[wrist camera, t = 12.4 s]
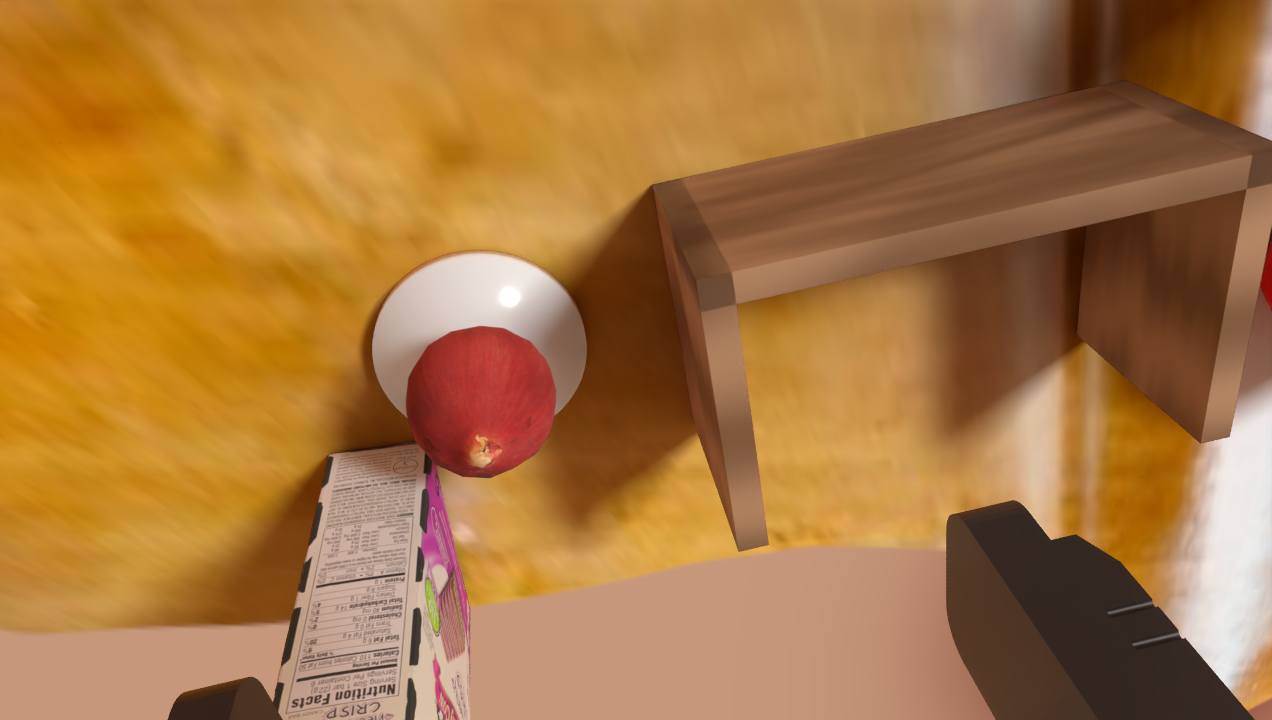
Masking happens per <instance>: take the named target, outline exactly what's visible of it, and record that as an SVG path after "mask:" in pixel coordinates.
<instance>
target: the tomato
mask: <svg viewBox="0 0 1272 720" xmlns="http://www.w3.org/2000/svg"><path fill="white" fill-rule="evenodd" d="M1260 287H1261V289H1262V291H1263V294H1264V296H1265V298H1266V300H1267V302H1268V304H1269V306H1270V308H1271V310H1272V240H1271V243H1270V246H1269V250H1268V253H1267V256H1266V260H1265V263H1264V267H1263V272H1262V277H1261V282H1260Z"/></svg>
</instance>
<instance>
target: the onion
mask: <svg viewBox="0 0 1272 720" xmlns="http://www.w3.org/2000/svg"><path fill="white" fill-rule="evenodd" d="M555 406H556V388H555V384H554V380H553V377H552V373H551V370H550V367H549V365H548V363H547V361H546V359H545V358H544V356H543V355H542V354H541V353H540V352H539V351H538V349H537V348H536V347H535V346H534V345H533V344H532V342H531V341H529V340H527V339H525V338H523V337H521V336H518V335H516V334H514V333H512V332H511V331H509V330H507V329H505V328H499V327H489V326H477V327H471V328H466V329H461V330H456V331H451V332H449V333H448V334H446V335H444V336H443V337H441V338H439V339H438V340H436V341H434V342H433V343H431V344H429V345H428V346H427V348H426V349H425V351H424V352H423V354H422V355H421V357H420V358H419V360H418V361H417V363H416V364H415V366H414V368H413V370H412V371H411V373H410V375H409V377H408V384H407V394H406V414H407V417H408V421H409V424H410V427H411V431H412V434H413V437H414V439H415V440H416V442H417V444H418V445H419V446H420V447H421V448H422V449H423V451H424V452H425V453H426V454H427V455H428V456H429V457H430V458H431V460H432V461H433V462H434V463H435V464H437V465H438V466H440V467H442V468H444V469H447V470H449V471H451V472H453V473H456V474H458V475H460V476H462V477H479V478H491V477H494V476H496V475H499V474H501V473H503V472H506V471H508V470H511V469H513V468H515V467H517V466H518V465H519V464H521V463H522V462H524V461H526V460H527V459H529V458H530V457H532V456H533V455H535V454H536V452H537V451H538V450H539V449H540V447H541V445H542V444H543V442H544V441H545V439H546V438H547V436H548V435H549V433H550V432H551V429H552V426H553V422H554V414H555Z"/></svg>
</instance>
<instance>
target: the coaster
mask: <svg viewBox="0 0 1272 720" xmlns="http://www.w3.org/2000/svg"><path fill="white" fill-rule="evenodd" d="M477 326H489V327H499V328H505V329H507V330H509V331H511V332H512V333H514V334H516V335H518V336H521V337H523V338H525V339H527V340H529V341H531V342H532V344H533V345H534V346H535V347H536V348H537V349H538V351H539V352H540V353H541V354H542V355H543V356H544V358H545V359H546V361H547V363H548V365H549V367H550V370H551V373H552V377H553V380H554V384H555V388H556V406H555V414H554V416H555V415H556V414H557V413H558V412H559V411H561V410H562V409H563V408H564V406H565V405H566V404H567V403H568V402H569V400H570V399H571V398H572V396H573V395H574V393H575V391H576V390H577V388H578V386H579V384H580V381H581V379H582V376H583V373H584V370H585V365H586V358H587V342H586V336H585V330H584V325H583V321H582V318H581V315H580V311H579V309H578V307H577V305H576V303H575V301H574V300H573V298H572V297H571V295H570V294H569V292H568V291H567V289H566V288H565V287H564V286H563V285H562V284H561V283H560V282H559V281H558V280H557V279H556V278H555V277H554V276H553V275H551V274H550V273H549V272H548V271H546V270H545V269H543V268H542V267H540V266H538V265H537V264H535V263H533V262H531V261H529V260H526V259H524V258H521V257H518V256H515V255H512V254H509V253H504V252H499V251H490V250H466V251H460V252H454V253H450V254H446V255H443V256H439V257H437V258H435V259H432V260H430V261H428V262H425V263H424V264H422V265H420V266H419V267H417V268H415V269H414V270H412V271H411V272H410V273H409V274H407V275H406V276H405V277H403V278H402V279H401V280H400V281H399V283H398V284H397V285H396V286H395V287H394V288H393V289H392V291H391V292H390V293H389V295H388V296H387V297H386V299H385V301H384V303H383V305H382V307H381V309H380V312H379V315H378V318H377V321H376V325H375V330H374V336H373V341H372V357H373V364H374V369H375V372H376V376H377V379H378V381H379V383H380V385H381V387H382V389H383V391H384V393H385V394H386V396H387V397H388V399H389V400H390V401H391V402H392V404H393V405H394V406H395V407H396V408H397V409H398V410H399V411H400V412H401V413H402V414H403V415H404V416H405V417H407V414H406V394H407V384H408V377H409V375H410V373H411V371H412V370H413V368H414V366H415V364H416V363H417V361H418V360H419V358H420V357H421V355H422V354H423V352H424V351H425V349H426V348H427V346H428V345H429V344H431V343H433V342H434V341H436V340H438V339H439V338H441V337H443V336H444V335H446V334H448V333H449V332H451V331H456V330H461V329H466V328H471V327H477ZM407 418H408V417H407Z"/></svg>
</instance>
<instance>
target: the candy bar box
mask: <svg viewBox="0 0 1272 720" xmlns="http://www.w3.org/2000/svg"><path fill="white" fill-rule="evenodd" d="M273 704H274V706H275V707H276V709H277V711H278V712H279V714H280V716H281V718H282V719H283V720H470V606H469V602H468V598H467V594H466V590H465V586H464V582H463V578H462V574H461V570H460V566H459V562H458V557H457V553H456V549H455V545H454V541H453V536H452V532H451V528H450V523H449V519H448V515H447V511H446V506H445V502H444V498H443V493H442V489H441V485H440V481H439V477H438V473H437V469H436V465H435V463H434V462H433V461H432V460H431V458H430V457H429V456H428V455H427V454H426V453H425V452H424V451H423V449H422V448H421V447H420V446H419V445H418V444H417V442H407V443H401V444H397V445H392V446H386V447H380V448H372V449H362V450H353V451H346V452H340V453H332V454H329V455H328V460H327V464H326V469H325V474H324V478H323V482H322V486H321V490H320V494H319V499H318V503H317V507H316V513H315V516H314V520H313V525H312V530H311V534H310V539H309V544H308V548H307V553H306V556H305V561H304V565H303V570H302V574H301V580H300V583H299V587H298V591H297V596H296V600H295V605H294V609H293V614H292V618H291V622H290V626H289V631H288V635H287V639H286V643H285V648H284V652H283V657H282V662H281V668H280V671H279V676H278V681H277V686H276V689H275V697H274V701H273Z"/></svg>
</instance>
